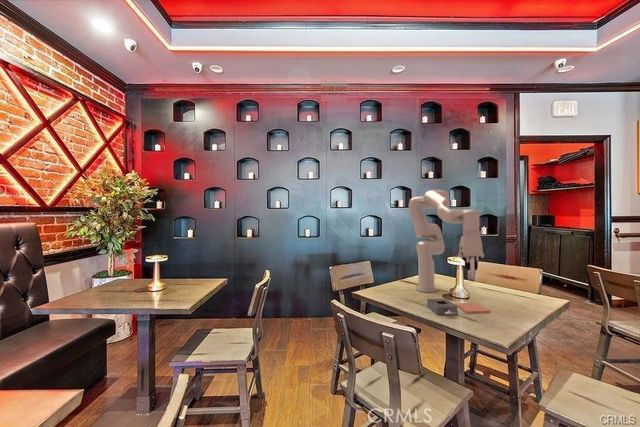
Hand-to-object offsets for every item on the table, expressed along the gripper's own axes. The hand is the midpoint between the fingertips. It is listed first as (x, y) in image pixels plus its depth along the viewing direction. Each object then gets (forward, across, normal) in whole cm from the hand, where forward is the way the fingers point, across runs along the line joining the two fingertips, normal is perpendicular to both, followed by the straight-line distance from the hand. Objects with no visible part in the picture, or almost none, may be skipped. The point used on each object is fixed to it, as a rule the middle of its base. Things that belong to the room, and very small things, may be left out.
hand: (471, 269), depth 147 cm
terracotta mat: (+20, 0, 0) cm, 20 cm away
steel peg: (+5, 0, 0) cm, 5 cm away
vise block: (+20, +16, +3) cm, 26 cm away
